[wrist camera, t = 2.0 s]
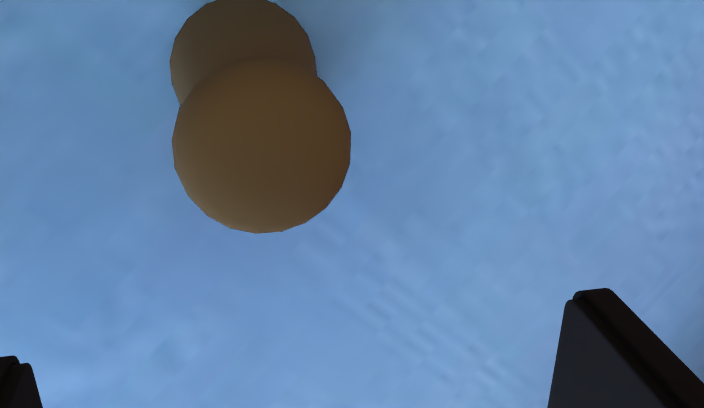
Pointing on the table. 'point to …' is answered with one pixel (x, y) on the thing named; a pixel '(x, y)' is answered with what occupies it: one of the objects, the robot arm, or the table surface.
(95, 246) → the table surface
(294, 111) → the brown rounded tall piece
